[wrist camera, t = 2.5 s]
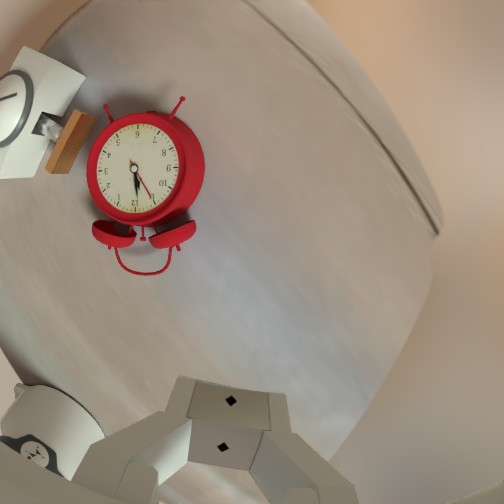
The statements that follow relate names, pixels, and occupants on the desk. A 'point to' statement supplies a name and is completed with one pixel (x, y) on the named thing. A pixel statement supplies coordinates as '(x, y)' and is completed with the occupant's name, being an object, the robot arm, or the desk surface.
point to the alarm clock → (145, 178)
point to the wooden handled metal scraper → (65, 139)
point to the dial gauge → (31, 108)
